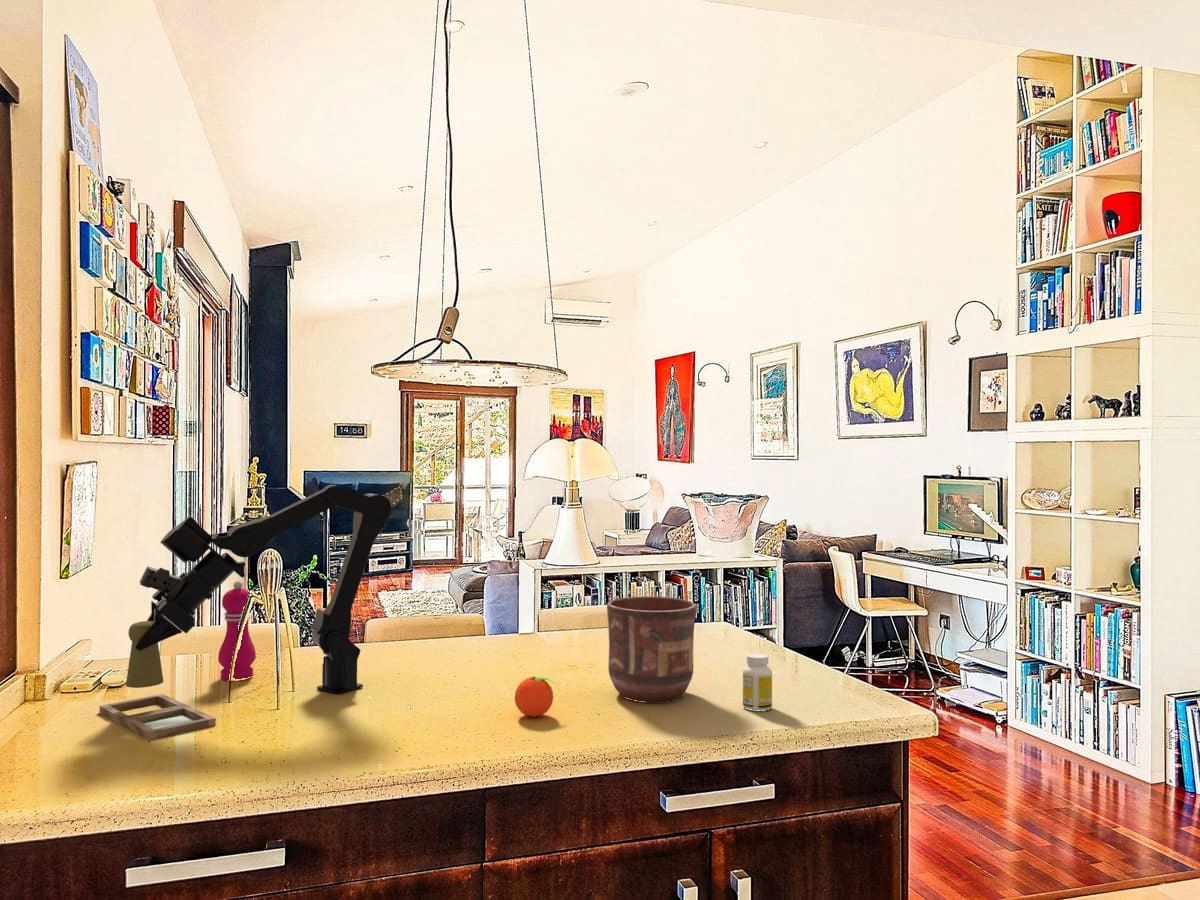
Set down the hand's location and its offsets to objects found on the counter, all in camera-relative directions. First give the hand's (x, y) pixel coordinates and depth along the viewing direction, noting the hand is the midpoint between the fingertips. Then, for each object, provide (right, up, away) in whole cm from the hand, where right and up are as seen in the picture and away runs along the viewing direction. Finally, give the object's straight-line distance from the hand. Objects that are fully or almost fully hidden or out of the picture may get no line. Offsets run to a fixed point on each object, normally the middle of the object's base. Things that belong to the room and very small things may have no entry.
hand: (136, 646), depth 160 cm
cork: (+1, -7, +1) cm, 7 cm away
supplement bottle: (+112, -13, +7) cm, 113 cm away
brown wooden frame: (+5, -12, -3) cm, 13 cm away
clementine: (+71, -13, +1) cm, 73 cm away
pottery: (+93, -13, +16) cm, 95 cm away
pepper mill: (+8, -12, +25) cm, 29 cm away
